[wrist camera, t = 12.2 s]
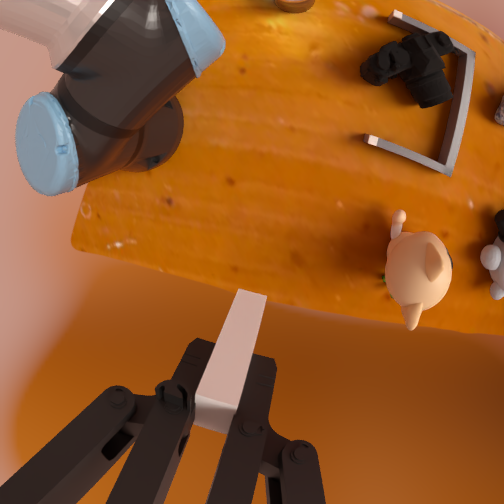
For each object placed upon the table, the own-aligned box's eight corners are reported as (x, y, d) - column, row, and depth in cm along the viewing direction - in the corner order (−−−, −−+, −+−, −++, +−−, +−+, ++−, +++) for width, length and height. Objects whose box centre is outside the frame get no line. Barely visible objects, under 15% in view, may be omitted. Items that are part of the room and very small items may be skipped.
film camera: (385, 122, 33) (405, 123, 25) (351, 64, 30) (362, 49, 22) (459, 89, 27) (489, 87, 19) (428, 34, 24) (453, 20, 17)
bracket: (363, 141, 35) (368, 143, 32) (388, 16, 25) (394, 9, 22) (442, 172, 34) (451, 177, 31) (466, 55, 24) (476, 52, 21)
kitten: (411, 290, 44) (436, 349, 31) (363, 282, 45) (377, 344, 32) (440, 214, 37) (485, 257, 24) (387, 200, 38) (422, 241, 25)
